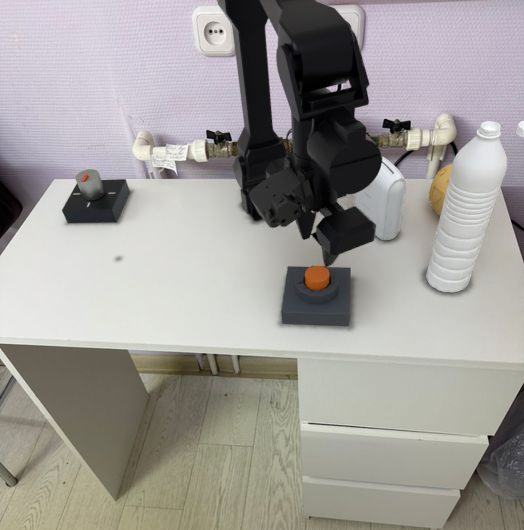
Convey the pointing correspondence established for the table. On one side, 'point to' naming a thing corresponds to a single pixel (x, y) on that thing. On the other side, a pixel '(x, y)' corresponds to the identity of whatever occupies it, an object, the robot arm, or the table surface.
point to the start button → (317, 277)
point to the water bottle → (468, 208)
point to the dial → (90, 184)
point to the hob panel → (97, 204)
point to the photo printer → (384, 200)
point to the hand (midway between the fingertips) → (316, 251)
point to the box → (317, 298)
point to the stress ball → (439, 188)
